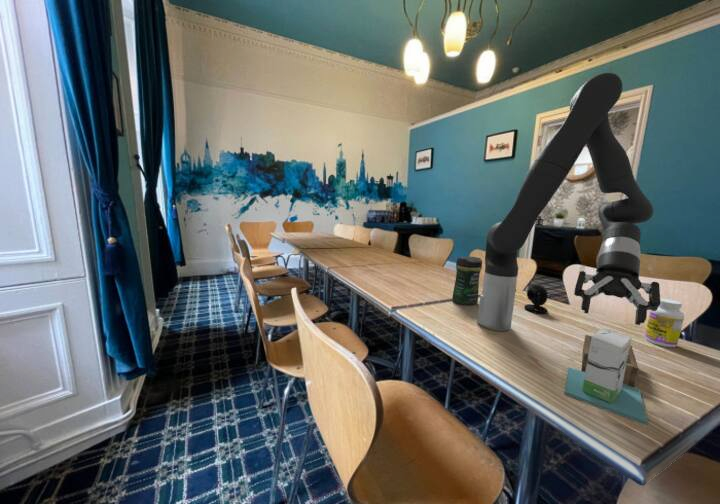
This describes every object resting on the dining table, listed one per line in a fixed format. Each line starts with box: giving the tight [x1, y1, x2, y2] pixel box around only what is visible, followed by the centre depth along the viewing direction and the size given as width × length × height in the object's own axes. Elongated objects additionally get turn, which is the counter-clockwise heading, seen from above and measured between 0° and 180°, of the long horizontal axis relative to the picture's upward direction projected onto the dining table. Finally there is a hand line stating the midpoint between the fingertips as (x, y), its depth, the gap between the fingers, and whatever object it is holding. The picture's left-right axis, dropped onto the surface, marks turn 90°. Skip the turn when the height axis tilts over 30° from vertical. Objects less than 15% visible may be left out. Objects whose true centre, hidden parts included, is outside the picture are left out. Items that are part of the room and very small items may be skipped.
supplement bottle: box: [644, 297, 685, 348], centre depth 81 cm, size 7×7×13 cm
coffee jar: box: [451, 256, 483, 306], centre depth 110 cm, size 10×8×19 cm
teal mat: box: [563, 366, 649, 425], centre depth 58 cm, size 12×12×1 cm
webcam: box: [523, 284, 549, 315], centre depth 104 cm, size 8×8×10 cm
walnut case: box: [581, 334, 639, 388], centre depth 67 cm, size 9×13×4 cm
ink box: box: [582, 328, 633, 403], centre depth 57 cm, size 9×5×12 cm, turn 127°
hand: (611, 317), depth 61 cm, fingers open, 8 cm apart
